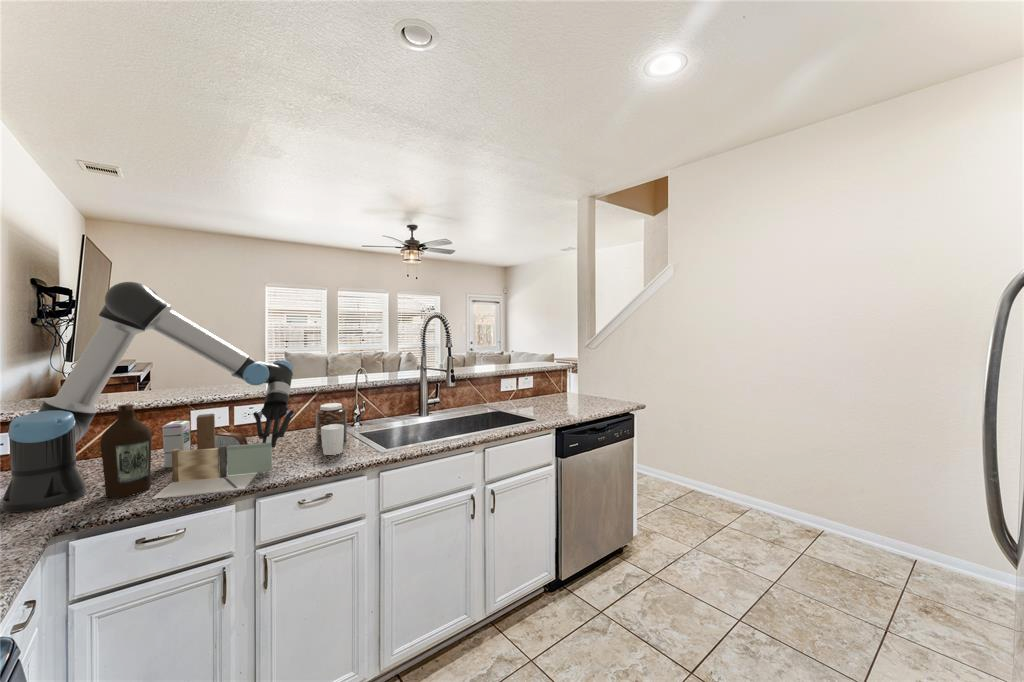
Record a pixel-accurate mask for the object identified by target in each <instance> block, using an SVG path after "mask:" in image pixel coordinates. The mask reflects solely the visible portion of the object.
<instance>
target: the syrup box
mask: <svg viewBox="0 0 1024 682" xmlns="http://www.w3.org/2000/svg"><path fill="white" fill-rule="evenodd" d="M161 428H162V445H163V447H162V448H163V460H164V461H163V463H164V464H163V465H164V468H172V450H174V449H180V451H186V450H192V440H191V439H192V437H191V436H192V435H191V422H190V420H176V421H170V422H168V423H166V424H164V425H162V427H161Z"/></svg>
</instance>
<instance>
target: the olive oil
mask: <svg viewBox="0 0 1024 682" xmlns="http://www.w3.org/2000/svg"><path fill="white" fill-rule="evenodd" d="M117 409H118V410H117V419H116V421H114V422H113V424H111V425H110V426H109V427H108V428H107V429H106V430H105V431H103V433H102V436H101V439H100V451H101V458H102V467H103V468H102V469H103V478H104V492H105V497H106V496H107V497H106V498H108V497H111V498H110V499H118V498H117V497H122V498H125V497H124V496H128V497H130V496H129V495H132V496H134V495H133V494H136V495H138V494H137V493H139V494H141V493H140V492H142V493H144V492H146V491H148V490H149V489H151V485H152V484H151V480H152V479H151V472H152V471H151V470H152V469H151V468H152V466H151V465H152V462H151V461H152V444H153V443H152V437H153V436H152V435H153V434H152V432H151V430H150V428H149V427H148V425H146V424H145V423H142V422H141V421H140V420H139V419H137V418H136V417H135V409H134V404H132V403H129V404H128V403H126V404H120V405H118V406H117ZM143 491H144V492H143Z"/></svg>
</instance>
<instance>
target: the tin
mask: <svg viewBox="0 0 1024 682" xmlns="http://www.w3.org/2000/svg"><path fill="white" fill-rule="evenodd" d="M246 444H248V441H247V438H246V436H244V435H243V434H241V433H240V432H232V431H223V430H222V431H219V432H215V448H219V446H223V445H226V457H227V447H228V446H233V445H246Z"/></svg>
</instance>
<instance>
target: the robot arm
mask: <svg viewBox="0 0 1024 682" xmlns="http://www.w3.org/2000/svg"><path fill="white" fill-rule="evenodd" d="M97 317H98V319H99V320H100V324H99V326H98V328H97V329H96V331H95V332H94V334H93V336H92V337H91V339H90V340H89V342H88V343H87V345H86V346H85V348H84V351H83V352H82V353H81V354H80V357H79V358H78V360H77V362H76V363H75V365H74V366H73V368H72V369H71V371H70V373H69V374H68V376H67V378H66V379H65V381H64V382H63V384H62V385H61V387H60V389H58V392H57V394H56V395H55V396H52V397H48V398H46V399H45V400H44V401H43V403H42V405H41V406H40V408H39V410H38V411H36V412H32V413H28V414H24V415H21V416H18V417H16V418H14V419H12V421H10V423H9V428H8V431H7V434H8V438H9V452H10V453H9V455H10V456H9V457H10V458H9V459H10V470H11V471H10V472H11V473H10V474H11V478H10V481H9V483H8V486H7V488H6V491H5V493H4V495H3V498H2V500H1V507H2V508H1V511H3V512H7V513H8V512H9V513H18V512H19V513H22V512H29V511H35V510H41V509H45V508H50V507H54V506H59V505H61V504H65V503H68V502H71V501H74V500H77V499H78V498H80V497H83V495H84V496H85V494H86V493H87V483H86V481H85V479H84V477H83V475H82V474H81V473H80V470H79V468H78V467H77V455H76V454H77V452H76V448H77V447H76V444H77V443H78V442H80V440H82V439H83V438H84V437H85V435H87V433H88V431H89V427H90V424H91V422H92V420H93V419H94V417H95V416H96V414H97V413H98V409H97V407H96V406H95V403H96V401H97V400H98V398H99V397H100V395H101V394H102V392H103V390H104V388H105V387H106V385H107V384H108V382H109V380H110V378H111V377H112V375H113V373H114V371H116V368H117V367H118V365H119V363H120V362H121V360H122V358H123V357H124V355H125V354H126V351H127V349H128V348H129V346H130V345H131V343H132V341H133V340H134V338H135V337H136V335H138V334H141V333H143V332H144V333H145V332H146V330H153V331H156V332H157V333H159V334H161V335H162V336H164V337H165V338H167V339H170V340H171V341H173V342H174V343H177V344H178V345H180V346H182V347H184V348H186V349H188V351H189V350H190V351H191V352H193V353H195V354H196V355H198V356H200V357H202V358H204V359H206V360H207V361H209V362H211V363H213V364H214V365H216V366H218V367H220V368H222V369H224V370H225V371H227V372H229V373H231V376H232V377H234V378H238V379H240V380H242V381H244V382H245V383H247V384H249V385H251V386H260V385H263V384H267V388H266V393H265V398H264V403H263V407H262V408H261V410H260V411H258V412H256V411H255V412H253V414H252V415H253V418H254V419H255V423H256V424H255V425H256V432H257V433H256V434H257V436H258V438H259V439H260V440H262V443H272V448H275V447H276V445H277V440H278V439H279V438H283V437H284V436H285V434H286V431H287V429H288V426H289V424H290V422H291V420H292V419H293V418H294V417H295V412H294V410H293V409H291V410H290V409H289V407H288V406H289V400H290V399H289V398H290V393H291V384H292V379H293V375H294V366H293V363H291V362H290V361H289V360H285V359H281V360H280V359H278V360H277V359H276V360H275V361H273V362H272V363H268V362H264V361H260V360H257V359H256V358H253V357H252V356H250V355H248V354H246V353H245V352H243V351H242V350H240V349H239V348H236V347H235V346H233V345H231V343H228V342H227V341H225V340H223V339H222V338H220V337H219V336H216V335H215V334H213V333H212V332H209V331H208V330H207V329H205V328H203V327H201V326H199V325H198V324H196V323H195V322H193V321H192V320H189V319H188V318H186V317H184V316H183V315H182V314H180V313H178V312H177V311H175V310H173V309H172V306H171V304H169V303H168V302H167V301H165V300H163V299H162V298H161V297H159V296H158V294H157V293H156V291H154V289H151V288H150V287H147V286H146V285H144V284H143V283H139V282H136V281H135V282H134V281H124V282H119V283H116V284H114V285H113V286H111V287H110V288H109V289H108V290H107V291H106V293H105V295H104V305H103V307H102V308H101V311H100V312H99V314H98V315H97ZM263 416H264V417H265V419H266V420H265V426H264V430H263V426H262V425H263V424H262V420H261V419H262V418H263ZM282 418H284V419H283V421H282V424H281V426H280V423H281V420H282ZM273 421H274V422H273ZM272 424H273V427H272ZM271 428H273V429H272V433H271ZM270 433H271V434H270Z"/></svg>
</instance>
